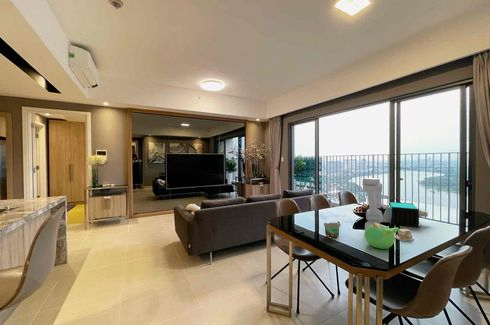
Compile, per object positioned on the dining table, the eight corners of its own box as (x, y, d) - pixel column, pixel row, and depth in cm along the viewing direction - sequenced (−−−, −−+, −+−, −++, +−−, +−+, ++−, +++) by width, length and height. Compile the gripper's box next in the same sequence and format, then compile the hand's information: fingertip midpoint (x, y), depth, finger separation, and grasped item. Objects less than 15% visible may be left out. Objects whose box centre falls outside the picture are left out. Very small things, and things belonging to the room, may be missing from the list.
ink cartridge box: (388, 220, 189) (388, 204, 189) (391, 222, 183) (391, 205, 183) (376, 220, 191) (376, 204, 191) (378, 222, 185) (378, 205, 185)
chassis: (401, 241, 142) (401, 237, 142) (393, 237, 148) (393, 234, 148) (414, 239, 144) (414, 236, 144) (405, 236, 150) (405, 233, 150)
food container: (329, 239, 146) (329, 225, 146) (323, 236, 152) (323, 222, 152) (344, 237, 149) (344, 223, 149) (338, 234, 155) (338, 221, 155)
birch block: (403, 238, 144) (403, 231, 144) (398, 236, 147) (398, 229, 147) (410, 237, 145) (410, 230, 145) (405, 235, 149) (405, 228, 149)
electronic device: (430, 229, 165) (430, 210, 164) (391, 225, 177) (391, 207, 177) (424, 221, 186) (424, 204, 186) (389, 217, 199) (389, 201, 199)
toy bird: (369, 240, 145) (368, 218, 145) (399, 246, 133) (399, 223, 133) (361, 248, 132) (360, 224, 132) (394, 256, 120) (393, 230, 120)
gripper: (389, 199, 161) (389, 217, 161) (374, 196, 175) (374, 212, 176) (381, 200, 159) (381, 218, 160) (366, 196, 174) (367, 213, 174)
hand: (377, 215), depth 168 cm, fingers open, 7 cm apart
